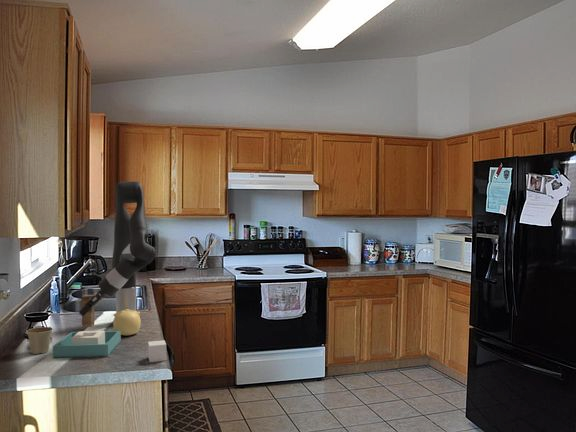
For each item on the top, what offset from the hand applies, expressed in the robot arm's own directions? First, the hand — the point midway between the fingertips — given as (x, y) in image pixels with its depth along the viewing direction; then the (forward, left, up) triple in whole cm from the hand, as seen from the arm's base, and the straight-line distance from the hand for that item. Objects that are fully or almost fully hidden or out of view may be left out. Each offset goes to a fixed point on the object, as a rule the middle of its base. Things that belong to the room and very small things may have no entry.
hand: (82, 313), depth 200 cm
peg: (0, +2, -5) cm, 6 cm away
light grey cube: (+15, +31, -15) cm, 37 cm away
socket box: (0, +2, -15) cm, 15 cm away
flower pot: (+1, -16, -15) cm, 22 cm away
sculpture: (-22, +12, -15) cm, 29 cm away
